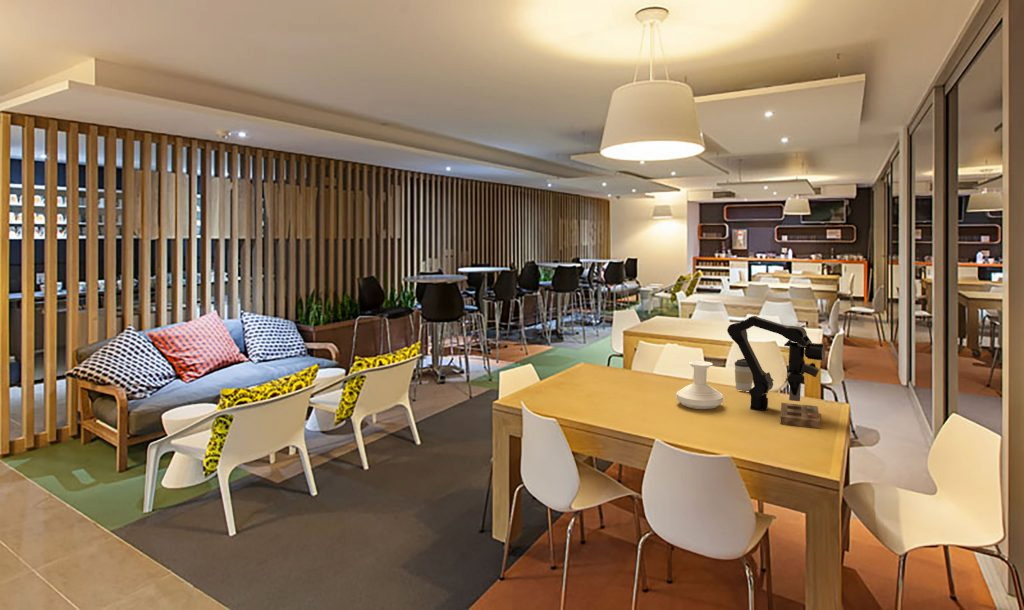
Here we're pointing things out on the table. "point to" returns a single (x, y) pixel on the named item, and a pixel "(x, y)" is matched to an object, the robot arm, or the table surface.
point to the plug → (795, 397)
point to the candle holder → (699, 389)
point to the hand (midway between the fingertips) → (794, 394)
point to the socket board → (800, 415)
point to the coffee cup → (743, 375)
